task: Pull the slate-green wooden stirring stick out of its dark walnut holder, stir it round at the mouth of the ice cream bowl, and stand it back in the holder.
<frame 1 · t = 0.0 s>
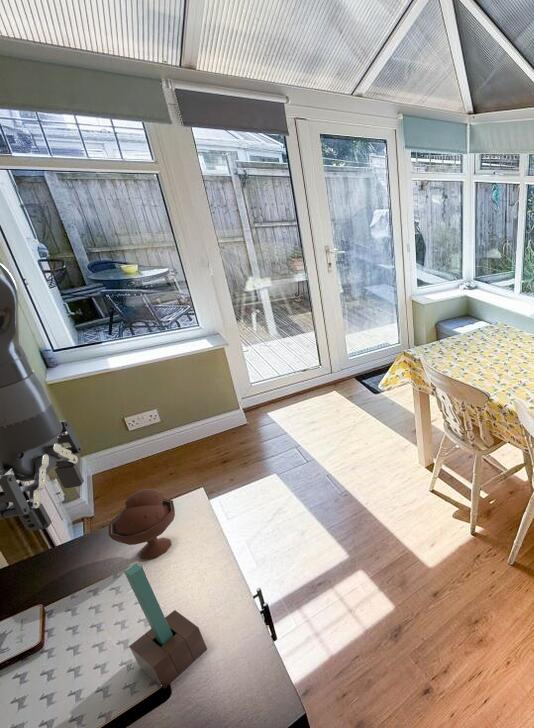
hand: (58, 505, 60), 32 cm above the table, tool pointing down, fingers open, 8 cm apart
holder: (174, 658, 71), on the table
ice cream bowl: (156, 549, 90), on the table
stick: (155, 616, 66), in the holder
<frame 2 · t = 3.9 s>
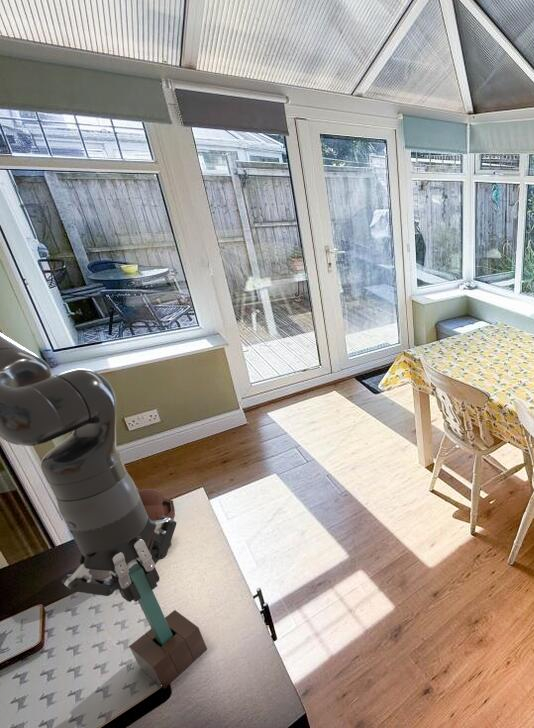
hand: (143, 591, 64), 17 cm above the table, tool pointing down, fingers closed on stick, 1 cm apart
stick: (155, 617, 66), in the holder, touching gripper
everything else where it was.
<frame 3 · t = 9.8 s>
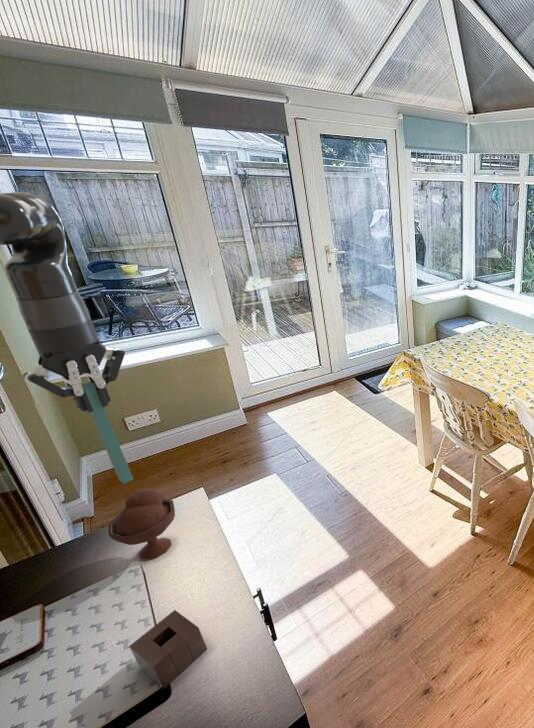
hand: (95, 408, 76), 36 cm above the table, tool pointing down, fingers closed on stick, 1 cm apart
stick: (107, 435, 78), point 30 cm above the table, touching gripper
everything else where it was.
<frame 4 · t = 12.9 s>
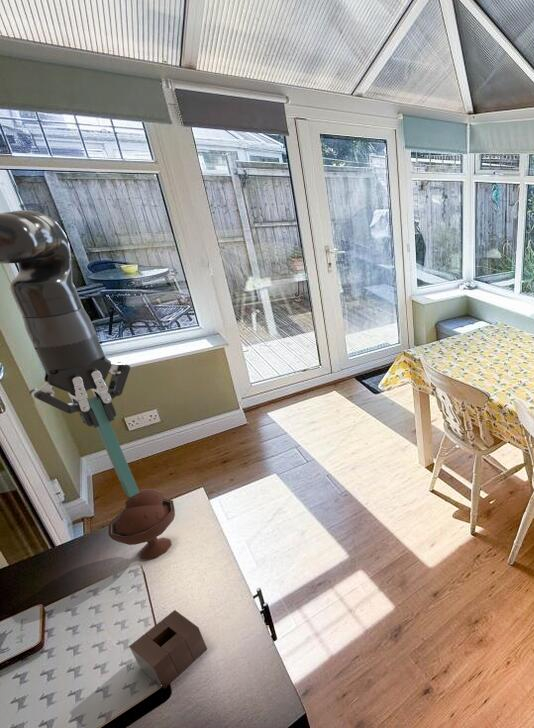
hand: (101, 422, 76), 34 cm above the table, tool pointing down, fingers closed on stick, 1 cm apart
stick: (113, 449, 78), point 28 cm above the table, touching gripper
everything else where it was.
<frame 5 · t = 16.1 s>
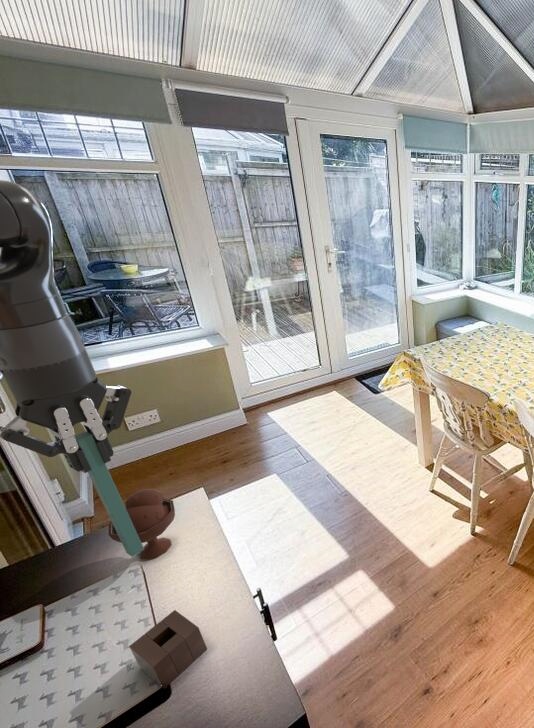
hand: (94, 465, 58), 39 cm above the table, tool pointing down, fingers closed on stick, 1 cm apart
stick: (110, 497, 60), point 33 cm above the table, touching gripper
everything else where it was.
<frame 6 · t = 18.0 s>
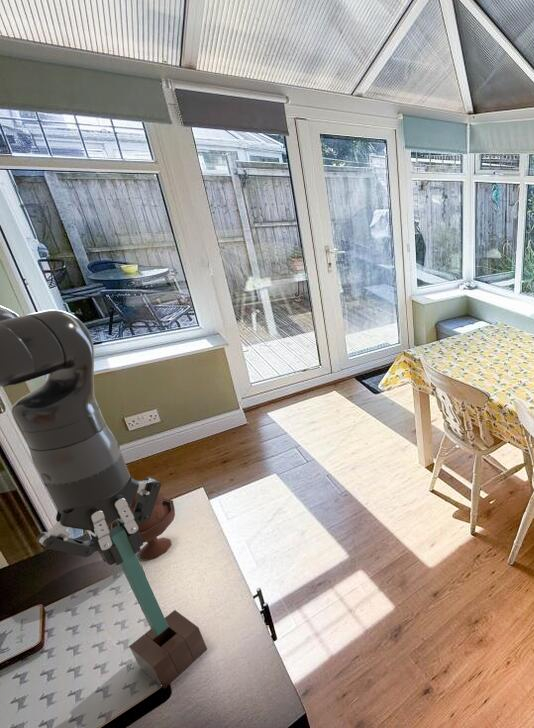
hand: (125, 555, 61), 25 cm above the table, tool pointing down, fingers closed on stick, 1 cm apart
stick: (139, 583, 63), point 19 cm above the table, touching gripper
everything else where it was.
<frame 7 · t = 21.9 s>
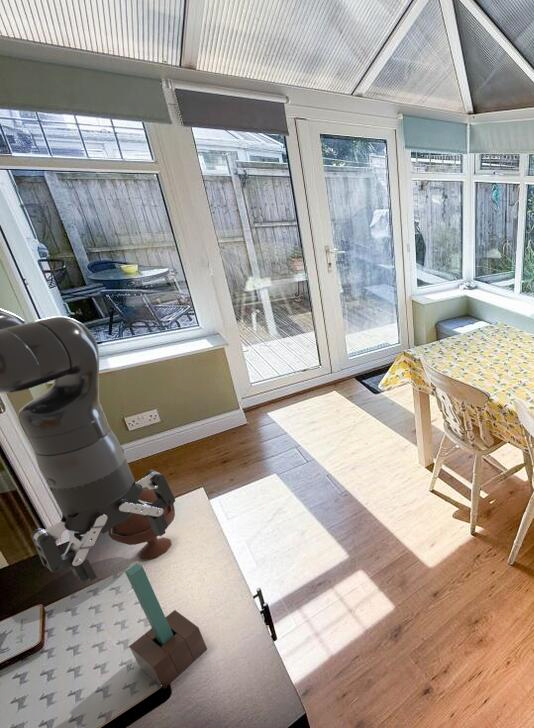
hand: (127, 554, 61), 25 cm above the table, tool pointing down, fingers open, 8 cm apart
stick: (155, 616, 66), in the holder
everything else where it was.
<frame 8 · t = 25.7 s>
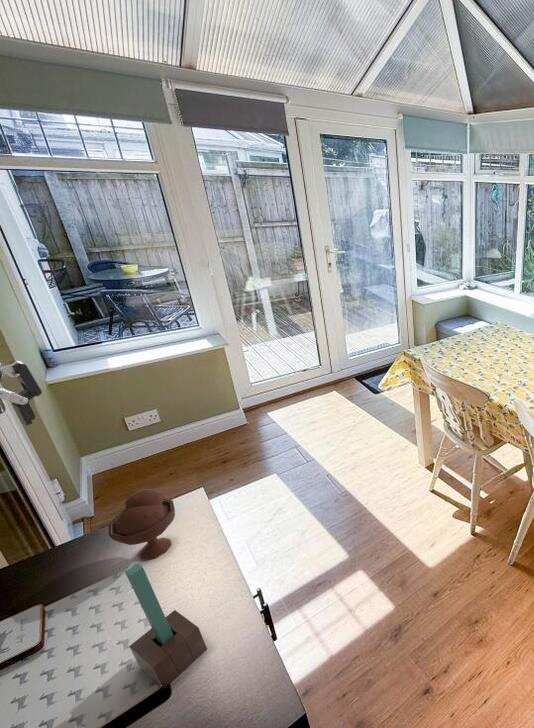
nothing on the table moved.
at the end: stick 0.1 cm off-centre in the holder, point 11.0 cm above the holder's base; the gripper is holding nothing; ice cream bowl moved 0.2 cm from its start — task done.
